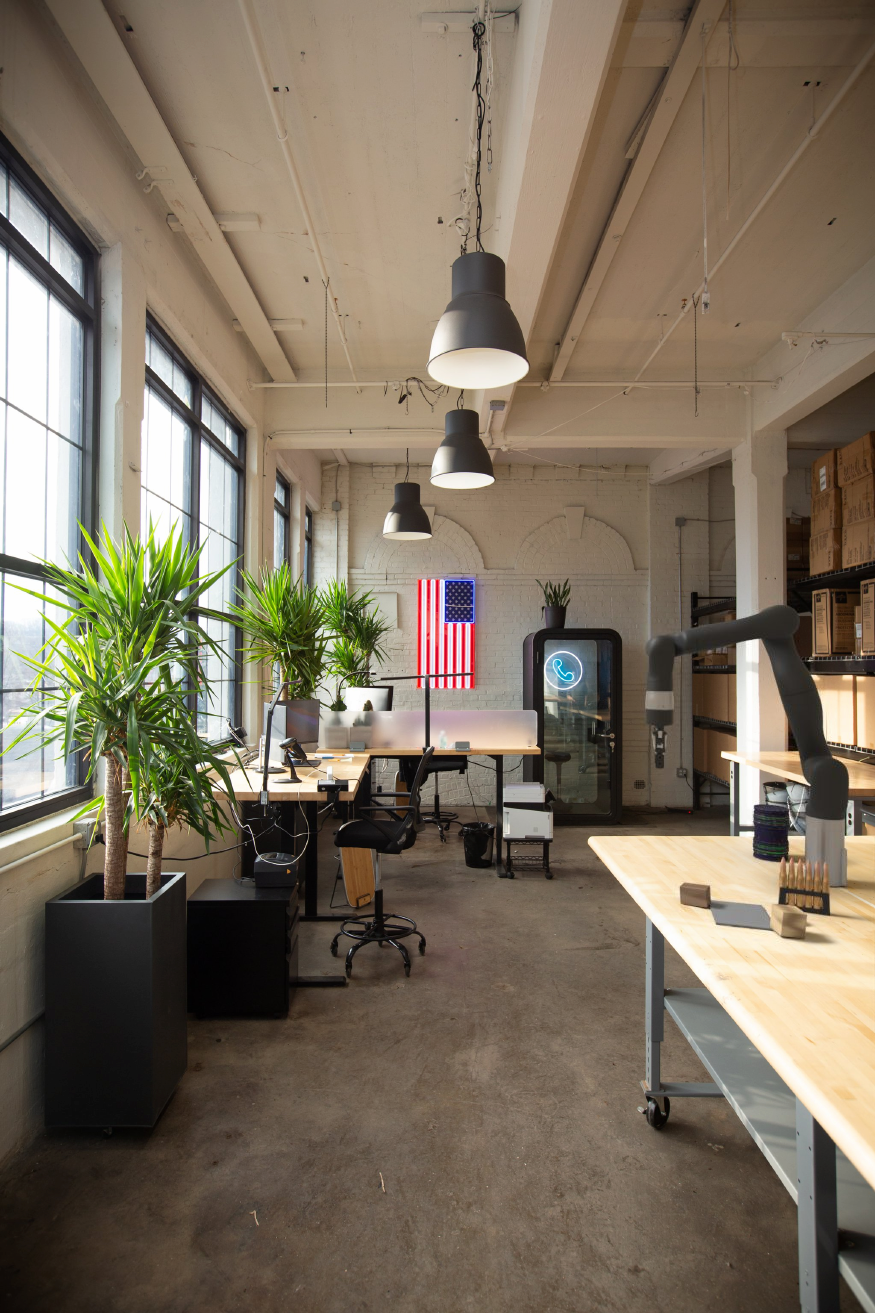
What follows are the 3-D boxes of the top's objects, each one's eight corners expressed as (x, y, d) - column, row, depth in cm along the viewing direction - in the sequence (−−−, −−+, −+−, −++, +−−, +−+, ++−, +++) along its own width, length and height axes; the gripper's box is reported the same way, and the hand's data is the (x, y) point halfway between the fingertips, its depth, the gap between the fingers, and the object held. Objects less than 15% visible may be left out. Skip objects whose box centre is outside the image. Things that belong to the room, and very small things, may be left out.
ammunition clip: (829, 913, 163) (830, 861, 163) (830, 916, 161) (831, 863, 161) (778, 906, 167) (778, 855, 167) (778, 908, 165) (779, 857, 166)
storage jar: (745, 855, 214) (745, 805, 214) (768, 852, 218) (768, 803, 218) (773, 863, 204) (773, 811, 205) (796, 860, 209) (797, 809, 209)
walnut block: (685, 899, 171) (684, 882, 171) (710, 902, 167) (710, 885, 168) (680, 903, 167) (679, 886, 168) (706, 907, 164) (705, 890, 164)
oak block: (792, 929, 152) (795, 906, 152) (804, 938, 147) (807, 914, 147) (769, 926, 152) (772, 903, 152) (780, 936, 147) (783, 912, 147)
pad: (761, 906, 167) (761, 905, 167) (775, 931, 151) (776, 929, 151) (707, 901, 170) (707, 899, 170) (716, 924, 154) (716, 922, 154)
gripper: (675, 709, 187) (674, 770, 187) (672, 706, 201) (672, 763, 201) (645, 708, 189) (645, 769, 189) (645, 706, 203) (644, 762, 203)
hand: (659, 766), depth 195 cm, fingers open, 8 cm apart
